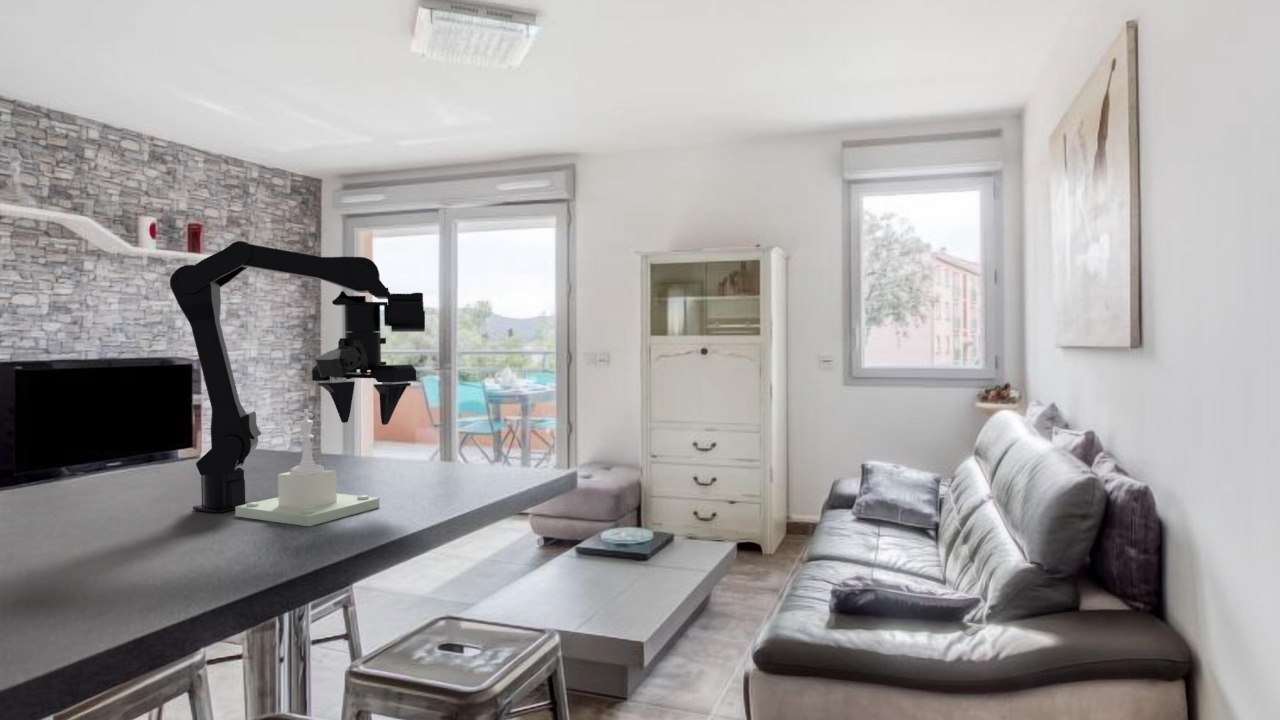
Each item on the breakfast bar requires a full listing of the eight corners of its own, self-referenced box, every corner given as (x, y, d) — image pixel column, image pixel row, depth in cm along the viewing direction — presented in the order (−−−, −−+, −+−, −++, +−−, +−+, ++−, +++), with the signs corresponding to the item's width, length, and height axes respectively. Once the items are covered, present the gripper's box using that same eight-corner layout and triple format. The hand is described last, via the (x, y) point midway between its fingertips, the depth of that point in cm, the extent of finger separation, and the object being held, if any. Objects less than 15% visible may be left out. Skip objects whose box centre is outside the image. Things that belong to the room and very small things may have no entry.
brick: (278, 506, 121) (277, 474, 120) (309, 498, 126) (309, 468, 126) (305, 509, 118) (305, 476, 118) (336, 501, 123) (336, 470, 123)
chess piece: (311, 475, 119) (310, 410, 119) (283, 474, 120) (281, 410, 120) (330, 470, 124) (329, 407, 123) (303, 469, 125) (302, 407, 124)
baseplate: (235, 516, 121) (235, 504, 120) (309, 499, 133) (309, 488, 133) (308, 526, 114) (308, 513, 113) (379, 507, 126) (379, 495, 126)
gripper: (284, 332, 129) (286, 426, 129) (368, 331, 121) (370, 431, 121) (337, 332, 139) (338, 419, 139) (417, 331, 131) (419, 423, 131)
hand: (364, 423), depth 132 cm, fingers open, 9 cm apart
